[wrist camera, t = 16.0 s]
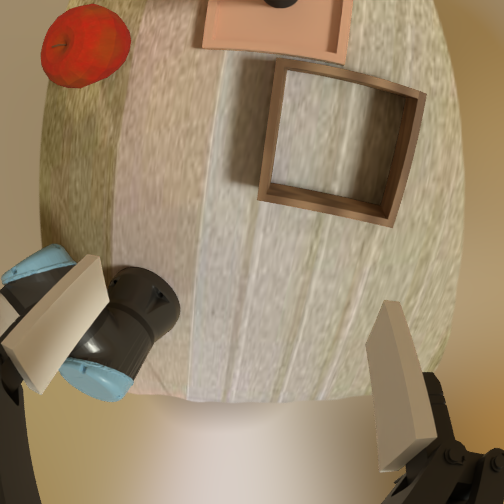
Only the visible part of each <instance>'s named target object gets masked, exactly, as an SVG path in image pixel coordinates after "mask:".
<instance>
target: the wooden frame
mask: <svg viewBox="0 0 504 504" xmlns="http://www.w3.org/2000/svg"><path fill="white" fill-rule="evenodd" d="M287 70H291V71H297V72H303V73H309V74H315V75H320V76H325V77H330V78H335V79H339V80H344V81H348V82H353V83H357V84H361V85H365V86H368V87H372V88H376V89H379V90H383V91H386V92H390V93H393V94H396V95H399V96H403V97H406V99H405V105H404V110H403V115H402V120H401V125H400V130H399V134H398V139H397V143H396V148H395V152H394V156H393V160H392V164H391V168H390V172H389V176H388V180H387V184H386V187H385V191H384V195H383V198H382V202H381V205H376V204H372V203H367V202H363V201H359V200H354V199H350V198H345V197H341V196H336V195H332V194H327V193H322V192H317V191H312V190H307V189H302V188H297V187H291V186H286V185H281V184H275V183H271V178H272V171H273V164H274V158H275V151H276V144H277V137H278V130H279V123H280V116H281V109H282V102H283V95H284V88H285V81H286V74H287ZM426 95H427V94H426V93H423V92H421V91H418V90H415V89H412V88H409V87H406V86H403V85H400V84H397V83H394V82H390V81H387V80H384V79H380V78H377V77H373V76H369V75H366V74H362V73H358V72H354V71H349V70H345V69H341V68H336V67H331V66H326V65H321V64H316V63H310V62H304V61H298V60H291V59H284V58H276V64H275V72H274V79H273V86H272V94H271V101H270V108H269V116H268V123H267V130H266V138H265V145H264V153H263V160H262V167H261V175H260V182H259V190H258V197H257V200H259V201H265V202H270V203H276V204H281V205H287V206H292V207H297V208H302V209H307V210H312V211H317V212H322V213H327V214H332V215H337V216H341V217H346V218H351V219H355V220H360V221H364V222H369V223H373V224H377V225H382V226H386V227H390V228H393V225H394V222H395V219H396V216H397V213H398V210H399V207H400V203H401V200H402V197H403V193H404V190H405V186H406V183H407V179H408V176H409V172H410V168H411V164H412V160H413V156H414V152H415V148H416V144H417V140H418V135H419V131H420V126H421V121H422V116H423V111H424V106H425V101H426Z"/></svg>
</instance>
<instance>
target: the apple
mask: <svg viewBox="0 0 504 504" xmlns="http://www.w3.org/2000/svg"><path fill="white" fill-rule="evenodd" d="M130 44H131V38H130V32H129V30H128V29H127V27H126V25H125V23H124V22H123V21H122V20H121V18H120V17H119V16H118V15H117V14H116V13H114V12H112V11H110V10H109V9H107V8H105V7H102V6H99V5H96V4H89V5H83V6H79V7H75V8H72V9H69V10H68V11H66V12H65V13H63V14H62V15H61V16H59V17H58V18H57V19H56V20H55V22H54V23H53V24H52V25H51V26H50V28H49V29H48V32H47V34H46V36H45V39H44V42H43V46H42V51H41V64H42V67H43V70H44V72H45V73H46V75H47V76H48V78H49V79H50V80H51V81H53V82H54V83H56V84H57V85H60V86H63V87H67V88H82V87H85V86H87V85H90V84H92V83H95V82H97V81H100V80H102V79H104V78H107V77H108V76H110V75H111V74H112V73H114V72H115V71H116V70H118V69H119V68H120V66H121V65H122V64H123V63H124V62H125V60H126V58H127V55H128V53H129V50H130Z"/></svg>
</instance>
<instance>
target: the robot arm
mask: <svg viewBox="0 0 504 504" xmlns="http://www.w3.org/2000/svg"><path fill="white" fill-rule="evenodd" d="M1 280H2V284H3V285H5V286H4V287H3V288H2V289H1V290H0V504H41V500H40V496H39V493H38V489H37V485H36V480H35V476H34V471H33V466H32V461H31V456H30V450H29V444H28V437H27V429H26V421H25V410H24V397H23V388H22V385H21V383H22V381H23V380H24V381H25V383H26V384H27V386H28V387H29V388H30V389H31V390H33V391H35V392H37V393H38V394H40V395H42V393H43V392H44V390H45V389H46V387H47V386H48V384H49V383H50V381H51V380H52V378H53V377H54V375H55V374H56V373H57V371H58V370H59V372H60V373H61V375H62V376H63V378H64V379H65V380H66V381H67V382H68V383H70V384H71V385H72V386H74V387H75V388H76V389H78V390H80V391H81V392H83V393H85V394H87V395H89V396H91V397H93V398H96V399H99V400H102V401H107V402H115V401H119V400H121V399H122V398H123V397H124V396H125V394H126V393H127V391H128V390H129V388H130V387H131V386H132V385H133V383H134V379H135V378H136V376H137V374H138V372H139V370H140V368H141V366H142V364H143V363H144V361H145V359H146V357H147V355H148V353H149V351H150V350H151V348H152V346H153V344H154V343H155V342H156V341H157V340H159V339H160V338H161V337H162V336H164V335H165V334H166V333H167V332H169V331H170V330H171V329H172V328H173V327H174V325H175V324H176V322H177V320H178V318H179V315H180V304H179V301H178V298H177V296H176V294H175V292H174V291H173V290H172V288H171V287H170V286H169V285H168V284H167V283H166V282H165V281H164V280H163V279H162V278H160V277H159V276H158V275H156V274H154V273H152V272H150V271H148V270H145V269H142V268H135V267H131V268H126V269H123V270H122V271H120V272H119V273H118V274H117V275H116V276H115V277H114V278H113V280H112V281H111V283H110V285H109V288H108V291H107V289H106V285H105V280H104V276H103V271H102V266H101V261H100V256H95V255H90V254H87V255H86V256H85V257H84V258H83V259H82V260H81V261H80V262H78V263H76V262H75V261H73V259H72V258H71V257H70V256H69V254H68V253H67V251H66V250H65V249H64V247H63V246H61V245H59V244H51V245H49V246H47V247H45V248H43V249H41V250H39V251H37V252H36V253H34V254H32V255H31V256H29V257H27V258H26V259H24V260H23V261H21V262H20V263H18V264H17V265H16V266H14V267H13V268H11V269H10V270H8V271H7V272H5V273H4V274H3V275H2V277H1ZM366 351H367V358H368V364H369V371H370V379H371V386H372V394H373V402H374V412H375V422H376V433H377V446H378V461H379V472H390V471H398V470H400V469H401V468H402V467H403V466H405V465H406V473H405V474H404V475H402V476H401V477H400V478H398V479H397V480H396V481H395V482H394V483H395V484H396V483H397V484H396V486H395V487H394V488H393V490H392V491H391V492H390V494H389V495H388V496H387V497H386V498H385V500H384V501H383V502H382V503H381V504H503V501H504V450H502V449H500V448H494V449H492V450H490V451H489V452H487V453H486V454H479V453H473V452H469V451H467V450H466V448H465V446H464V445H463V444H462V443H461V442H459V441H456V440H455V437H454V434H453V429H452V425H451V421H450V417H449V413H448V409H447V406H446V405H445V403H446V402H445V398H444V396H443V391H442V387H441V384H440V382H439V380H438V379H437V377H436V376H435V375H434V373H433V372H422V370H421V367H420V363H419V360H418V356H417V353H416V350H415V346H414V343H413V340H412V337H411V334H410V331H409V327H408V324H407V321H406V319H405V316H404V313H403V310H402V307H401V304H400V302H398V301H389V300H384V301H383V304H382V306H381V309H380V311H379V314H378V316H377V319H376V321H375V324H374V326H373V328H372V331H371V333H370V335H369V338H368V340H367V342H366Z"/></svg>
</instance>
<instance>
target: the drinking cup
mask: <svg viewBox="0 0 504 504" xmlns="http://www.w3.org/2000/svg"><path fill="white" fill-rule="evenodd" d="M264 1H265V2H266V3H267V4H268V5H270V6H272V7H275V8H287V7H290V6H292V5H294V4H295V3H296V2H297V1H298V0H264Z"/></svg>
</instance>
